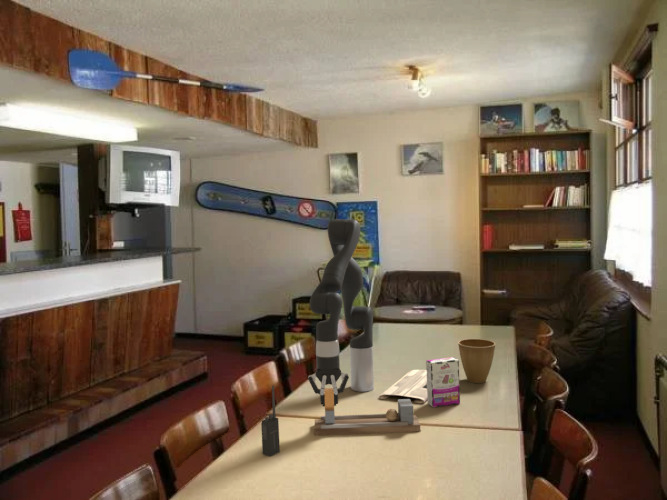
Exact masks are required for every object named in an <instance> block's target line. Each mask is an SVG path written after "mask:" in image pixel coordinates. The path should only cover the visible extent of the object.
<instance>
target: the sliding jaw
mask: <svg viewBox="0 0 667 500" xmlns="http://www.w3.org/2000/svg"><path fill="white" fill-rule="evenodd" d="M324 394H325V406H324V416H325V425H332V424H335V416H336V415H335V406H334V390H333V387H329V388H327V387H325V389H324Z"/></svg>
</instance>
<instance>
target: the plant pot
mask: <svg viewBox="0 0 667 500" xmlns="http://www.w3.org/2000/svg"><path fill="white" fill-rule="evenodd" d="M457 343H458V344H457V345H458V351H459V356H460V360H461V361H460V362H461V365H462V368H463V372H464V373H465V377H466V380H467V381H468V382H470V383H473V384H481V383H485V382H486V381H487V379H488V377H489V374H490V371H491V369H492V364H493V360H494V355H495V350H496V349H495V348H496V343H495V342H494V341H492V340H489V339H482V338H465V339H461V340H459V341H458V342H457Z"/></svg>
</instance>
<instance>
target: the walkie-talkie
mask: <svg viewBox="0 0 667 500" xmlns="http://www.w3.org/2000/svg"><path fill="white" fill-rule="evenodd" d="M271 395H272V397H271V398H272V403H271V405H272V414H268V415H267V416H265V417H264V419H263V420H261V424H260V426H261V443H262V444H261V446H262V454H263V455H264V456H267V457H272V456H274V455H277V454H279V453H280V452H281V451H280V450H281V449H280V448H281V447H280V428H279V427H280V426H279V417H277V414H276V400H275V398H276V397H275V385H272V386H271Z"/></svg>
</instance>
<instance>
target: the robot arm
mask: <svg viewBox="0 0 667 500" xmlns="http://www.w3.org/2000/svg"><path fill="white" fill-rule="evenodd" d="M327 237H328V241H329V244H330V248H331V251H332V254H333V257H332V258H330V260H329V261H328V262H327V263H326V265H325V267H324V271H323V273H322V277H321V280H320V281H319V283H318V285H317V286H316V288H315V289H314V291H313V292H312V294H311V296H310V299H309V309H310V310H311V312H312V313H313V314H317V315H329V318H328V319H326V320H322V321H321V320H320V321H319V322H317V323H316V325H315V327H316V328H315V329H316V330H315V331H316V333H315V334H316V345H315V356H316V357H315V359H316V370H315V373H313V374H309V375H308V377H307V380H308V382H309V384H310V386H311V388H312V390H313V391H314V394H316V395H319V396H320V397H319V399H320V405H322V407H325V394H324V389H325V388H326V386H327V385H330V386H331V385H332V388H333V390H334V407H336V406H337V405H338V403H339V394H342V393H343V392H344V390H345V388H346V386H347V384H348V383H347V382H348V381H349V373H344V372H342V370H341V365H340V345H339V344H340V343H339V330H338V329H339V321H340V317H341V314H342V313H341V312H342V309H343V312H344V320H345V325H346V328H347V329H348V330H353V331H356V330H358V331H359V330H360V331H363V333H362V334H360V335H359V336H355V337H353V338H351V339H349V357H350V358H349V359H350V361H349V362H350V363H349V364H350V365H349V366H350V389H351V390H352V391H354V392H362V393H363V392H370V391H373V390H374V389H375V385H374V384H375V380H374V379H375V377H374V376H375V375H374V345H373V343H374V342H373V340H374V339H373V338H374V337H373V333H374V332H373V326H374V316H373V315H374V312H373V308H371V306H354V305H353V304H354V302H355V300H356V298H357V297H358V295H359V293H360V292H361V290H362V288H363V286H364V278H363V277H364V276H363V273H362V272H363V271H362V268H361V266H360V264H359V263H358V262H357V260H355V259H354V258H353V255H354V253H355V251H356V248H357V246H358V244H359V241H360V237H361V226H360V223H359V221H358V220H357V219H346V218H345V219H342V218H341V219H340V218H338V219H337V218H336V219H331V220H330V221H329V222H328V224H327ZM339 291H340V292H341V294H340V293H338V292H339ZM316 378H317V380H318V381H319V382H320V388H319V387H318V385H317V384H316ZM340 378H341V380H342V381H341V384H340V386H339V387H337V382H338V380H339V379H340Z"/></svg>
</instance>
